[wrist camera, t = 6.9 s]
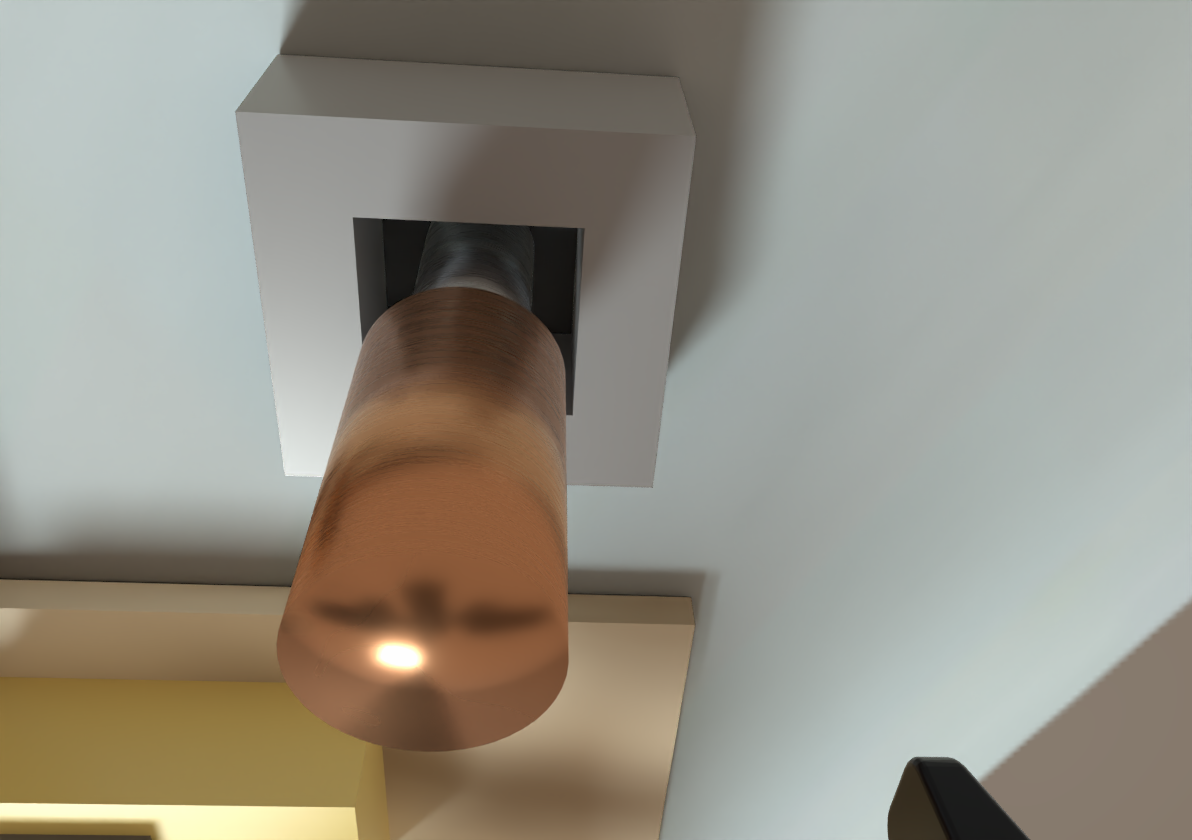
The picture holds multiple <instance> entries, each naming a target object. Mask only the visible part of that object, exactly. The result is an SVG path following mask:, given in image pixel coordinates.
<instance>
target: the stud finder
mask: <svg viewBox="0 0 1192 840" xmlns="http://www.w3.org/2000/svg"><path fill="white" fill-rule="evenodd" d="M0 840H390V833H389V821H388V810H387V798H386V786H385V774H384V762H383V751H382V746H380V745H376V744H372V743H369V742H366V741H363V740H360V739H357V738H355V737H353V736H350V735H348V734H345V733H343V732H341V731H339V730H338V729H336V728H334V727H332V726H330V725H328V724H327V723H326V722H324V721H323V720H321V719H320V718H318V717H317V716H315V715H314V714H313V713H312V712H311V711H310V710H308V709H307V708H306V707H305V706H304V705H303V704H302V703H301V702H300V701H299V700H298V698H297V697H296V696H295V695H294V694H293V692H292V691H291V689H290V688H289V686H288V685H287V683H280V682H230V681H180V680H129V679H79V678H29V677H0Z"/></svg>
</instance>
